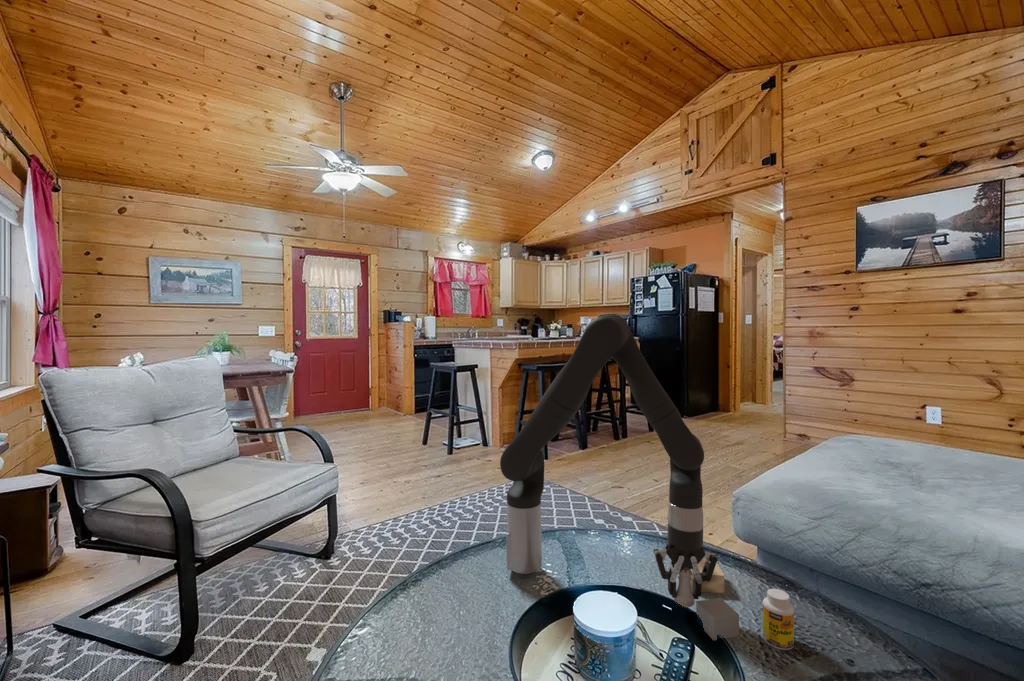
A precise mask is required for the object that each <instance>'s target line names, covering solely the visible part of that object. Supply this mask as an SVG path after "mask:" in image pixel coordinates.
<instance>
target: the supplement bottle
mask: <svg viewBox="0 0 1024 681" xmlns="http://www.w3.org/2000/svg"><path fill="white" fill-rule="evenodd" d="M790 599H791V597H790V595H789V593H788V592H787V591H785V590H782V589H778V588H769V589H768V590H767V592H766V597H764V599H763V600H762V638H763V639H762V640H764V642H765V643H767V644H768V646H770V647H772V648H775V649H778V650H782V651H783V650H784V651H787V650H789V651H790V650H792V649H793V648H794V645H795V608H794V606H793V605H792V603H791V600H790Z"/></svg>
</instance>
